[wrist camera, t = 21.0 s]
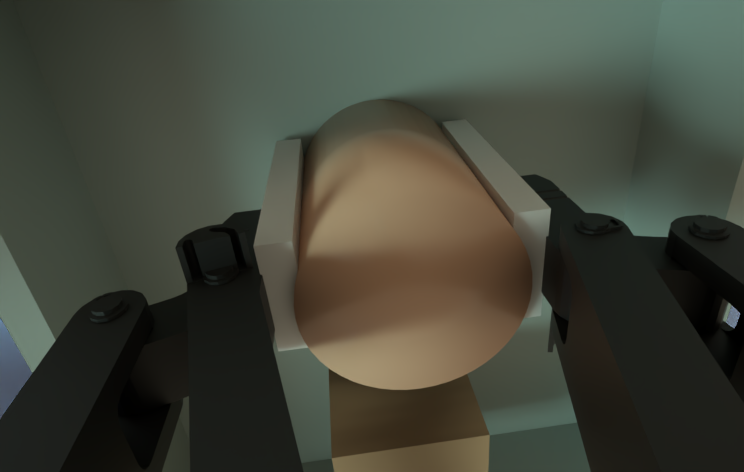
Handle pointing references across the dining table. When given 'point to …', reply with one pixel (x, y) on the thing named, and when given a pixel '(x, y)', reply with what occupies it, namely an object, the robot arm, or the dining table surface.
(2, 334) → the dining table surface
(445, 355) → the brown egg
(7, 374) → the dining table surface
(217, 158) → the tote
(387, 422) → the walnut cube
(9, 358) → the dining table surface
